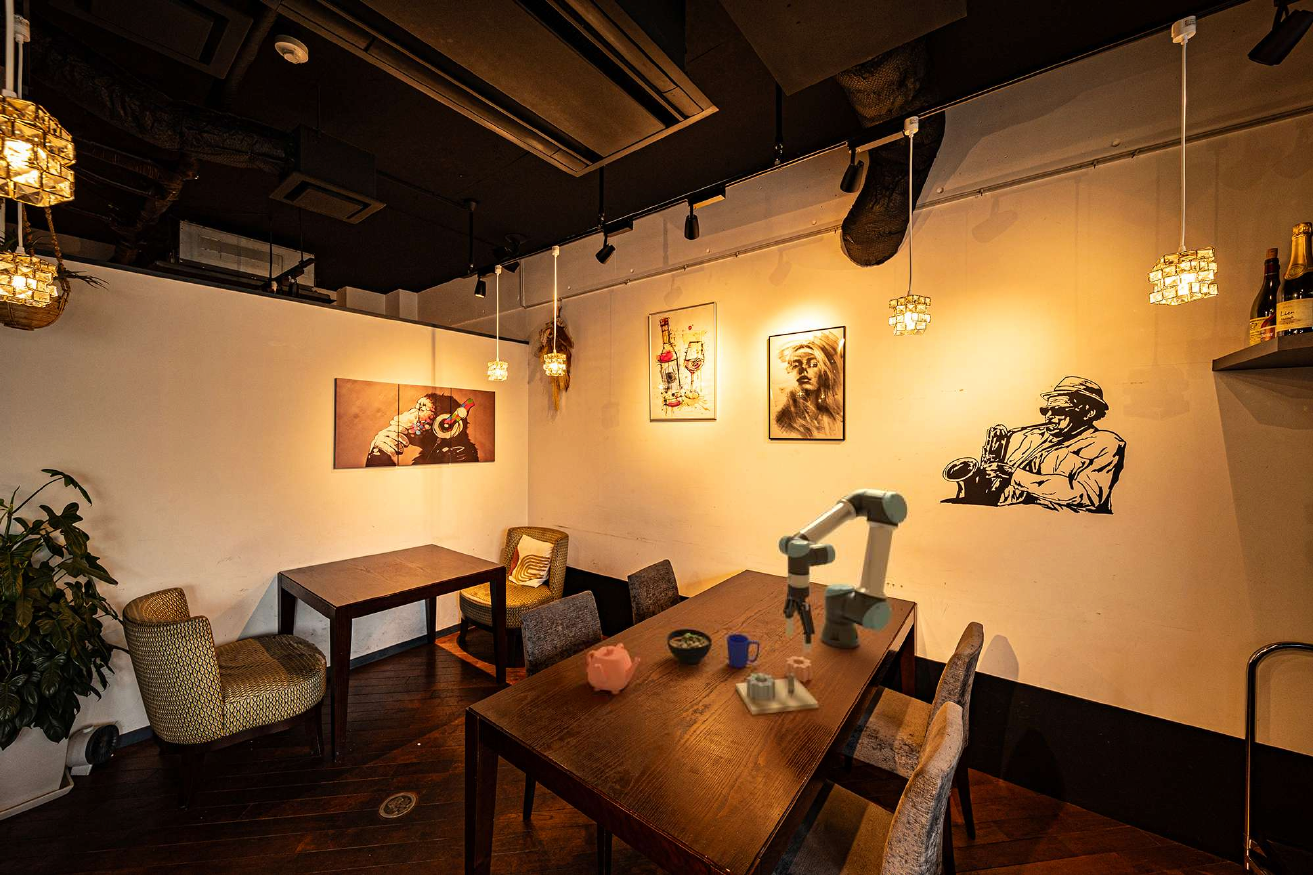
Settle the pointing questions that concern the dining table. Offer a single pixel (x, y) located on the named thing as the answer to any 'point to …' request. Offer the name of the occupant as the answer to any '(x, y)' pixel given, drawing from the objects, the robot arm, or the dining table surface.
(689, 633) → the bowl
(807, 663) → the gear
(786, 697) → the board
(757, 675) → the gear
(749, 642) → the mug
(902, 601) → the dining table surface
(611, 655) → the teapot
